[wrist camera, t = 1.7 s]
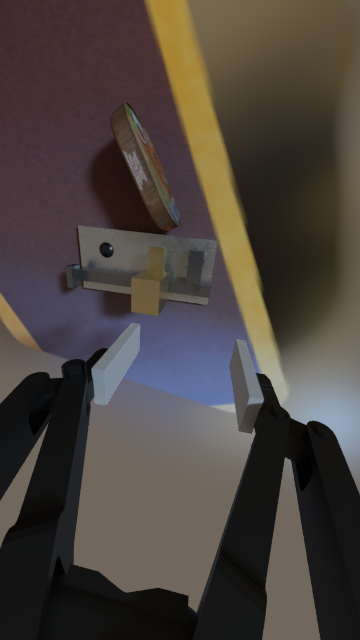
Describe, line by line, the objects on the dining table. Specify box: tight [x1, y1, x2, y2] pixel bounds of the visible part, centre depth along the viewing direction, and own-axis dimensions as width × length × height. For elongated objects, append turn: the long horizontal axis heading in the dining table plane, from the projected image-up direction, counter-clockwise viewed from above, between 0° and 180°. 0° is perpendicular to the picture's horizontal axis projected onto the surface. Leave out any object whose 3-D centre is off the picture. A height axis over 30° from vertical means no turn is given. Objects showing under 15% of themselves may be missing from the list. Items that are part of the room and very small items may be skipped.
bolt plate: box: [78, 225, 218, 305], centre depth 36 cm, size 11×24×1 cm, turn 84°
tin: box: [110, 100, 181, 231], centre depth 28 cm, size 15×3×8 cm, turn 24°
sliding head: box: [131, 246, 170, 316], centre depth 32 cm, size 9×4×9 cm, turn 174°
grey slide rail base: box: [65, 249, 211, 298], centre depth 34 cm, size 8×24×5 cm, turn 84°
